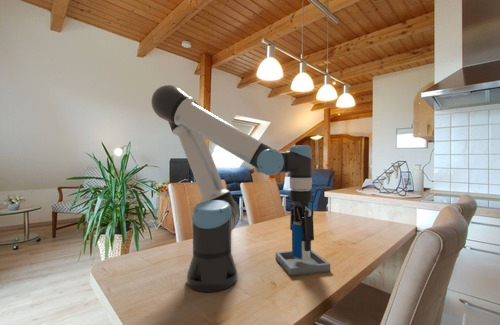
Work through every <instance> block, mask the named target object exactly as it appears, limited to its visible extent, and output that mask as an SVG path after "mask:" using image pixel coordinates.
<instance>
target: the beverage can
mask: <svg viewBox="0 0 500 325" xmlns="http://www.w3.org/2000/svg"><path fill="white" fill-rule="evenodd" d="M302 239H303V235H302V228H301V222H300V221H298V222H296V221H294V222H293V225H292V230H291V251H292V255H293V256H294V257H295V258H297V259H301V260H302V241H301V240H302ZM311 250H312V241H310V257H311Z"/></svg>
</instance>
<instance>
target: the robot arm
mask: <svg viewBox="0 0 500 325" xmlns="http://www.w3.org/2000/svg"><path fill="white" fill-rule="evenodd" d="M151 107H152V110H153V111H154V113H155V114H156V115H157V116H158V117H159V118H160V119H163V121H164V120H165V121H167V123H168V124H169V127H170V129H171V132H172V134H173V135H175V136H178V138H179V141H180V143H181V146H182V149H183V151H184V154H185V157H186V159H187V161H188V164H189V167H190V169H191V171H192V174H193V177H194V180H195V182H196V184H197V187H198V190H199V192H200V195H201V199H200V201H199V203H197V204H196V205H195V206H194V207H193V209H192V214H191V215H192V217H191V221H192V257H191V261H190V264H189V267H188V271H187V276H186V283H187V286H188V287H189V288H190V289H192V290H193V291H196V292H201V293H215V292H216V293H217V292H221V291H224V290H226V289H229V288H231V287H232V286H233V285H235V283H237V281H238V270H237V266H236V263H235V260H234V257H233V254H232V231H233V229H235V227H236V226H237V225H238V223H239V222H240V218H241V209H240V206H239V204H238V203H237V201H236V200H235V199H234V197H233V195H232V193H231V191H230V190H229V189H227V188H226V187H225V186H224V184H223V182H222V179H221V177H220V174H219V172H218V168H217V166H216V164H215V162H214V161H215V160H214V158H213V156H212V154H211V151H210V149H209V147H208V146H209V145H208V143H207V140H208V141H209V142H212V143H213V144H215V145H217V146H218V147H220V148H221V149H223V150H225V151H227V152H228V153H229V154H230V153H231V154H232V155H234V156H236V157H237V158H239V159H241V161H243V162H245V163H248V164H249V165H251V166H252V167H253V168H255V171H256V172H257V173H259V174H260V173H261V174H264V175H266V176H275V175H278V174H280V173H281V174H282V173H286V174H287V173H288V174H289V189H290V191H289V200H290V201H291V202H293V203H290V204H289V206H290V207H289V208H290V218H289V220H290V223H289V224H290V226H289V228H290V229H289V230H290V231H292V225H293V222H294V221H296V222H298V221H300V222H301V228H302V235H303V239H302V240H301V241H302V260H310V241H311V242H312V241H314V240H315V234H314V232H315V231H314V209H310V207H309V202H311V201H313V191H312V190H311V189H312V187H313V186H312V185H313V184H312V183H313V180H312V179H313V177H312V176H313V170H312V169H313V168H312V164H313V162H312V161H313V157H312V148H311V146H310V145H308V144H302V145H298V144H297V145H290V147H289V150H287V151H279V150H277V149H275V148H272V147H271V146H268V145H266V144H265V143H263V142H262V141H260V140H258V138H255V137H254V136H251V135H250V134H249V133H247V132H244V131H243V130H241V129H239V128H237V127H236V126H234V125H232V124H230V123H229V122H227V121H225V120H223V119H222V118H220V117H218V116H217V115H215V114H213V113H212V112H210V111H208V110H206V109H204V108H203V107H201V106H200V105H199V103H198V102H197V101H196V99H194V97H192V96H191V95H188V94H187V93H186V92H185V91H183V90H182V89H181V88H179V87H177V86H174V85H169V84H168V85H161V86H160V87H158V88H156V90H155V91H154V92H153V95H152V97H151ZM206 139H207V140H206Z"/></svg>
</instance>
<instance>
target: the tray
mask: <svg viewBox="0 0 500 325" xmlns="http://www.w3.org/2000/svg"><path fill="white" fill-rule="evenodd" d="M275 260H276V261H277V262H278V264H279V265H280V267H282V268H283V270H285V272H286V273H287V274H288V275H289V277H296V276H297V277H298V276H306V275H315V274H323V273H330V272H331V263H330V262H328V261H327V260H326V259H325V258H323V257H322V256H320V255H319V254H318V253H316V252H315V251H314V250H312V249H311V257H310V260H301V259H297V258H295V257H294V256H293V255H292V250H288V251H287V250H286V251H276V252H275Z"/></svg>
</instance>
